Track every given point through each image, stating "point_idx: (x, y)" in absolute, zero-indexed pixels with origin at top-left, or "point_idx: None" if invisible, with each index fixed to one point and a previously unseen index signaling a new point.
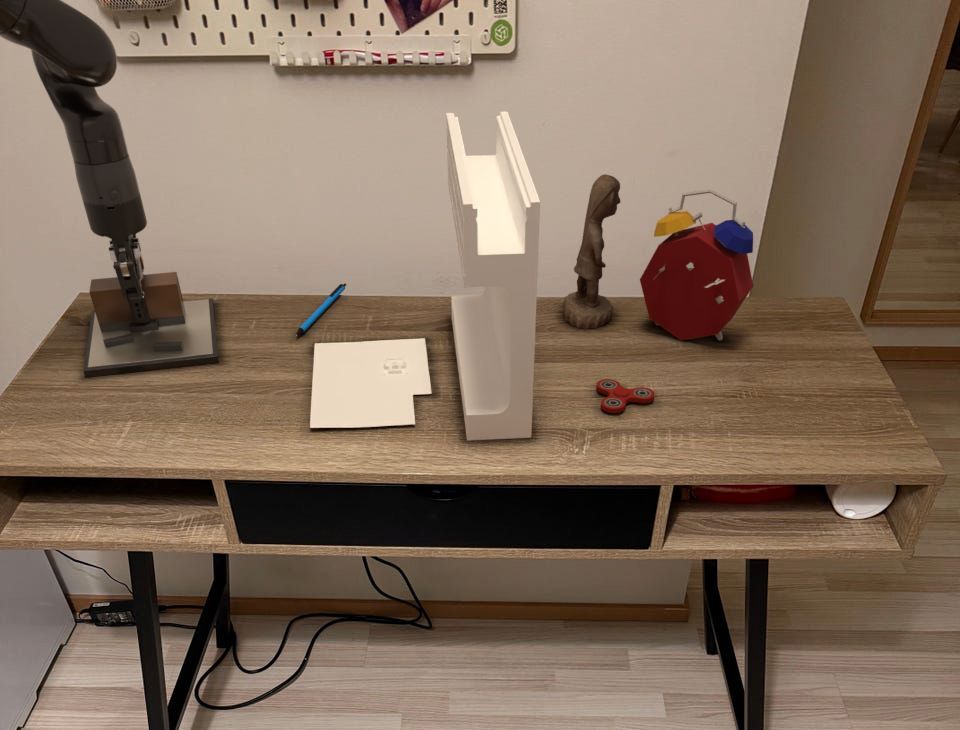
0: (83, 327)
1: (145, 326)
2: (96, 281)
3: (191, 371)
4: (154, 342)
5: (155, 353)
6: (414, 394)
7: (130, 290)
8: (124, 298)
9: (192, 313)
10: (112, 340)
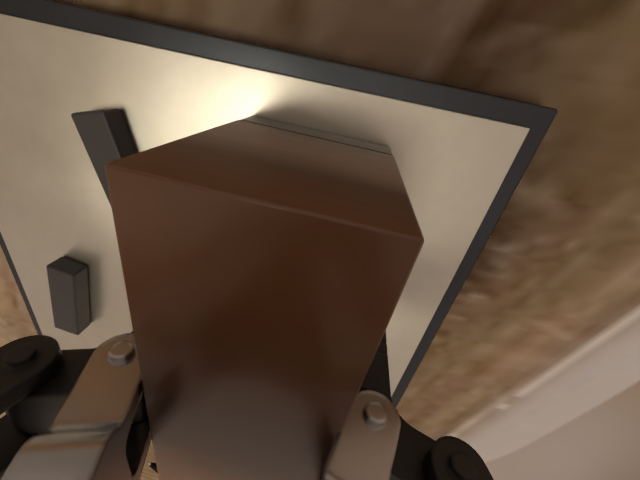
0: (448, 33)
1: None
2: (337, 271)
3: (20, 295)
4: (70, 276)
5: (47, 256)
6: None
7: (11, 412)
8: (4, 346)
9: None
10: (90, 149)
